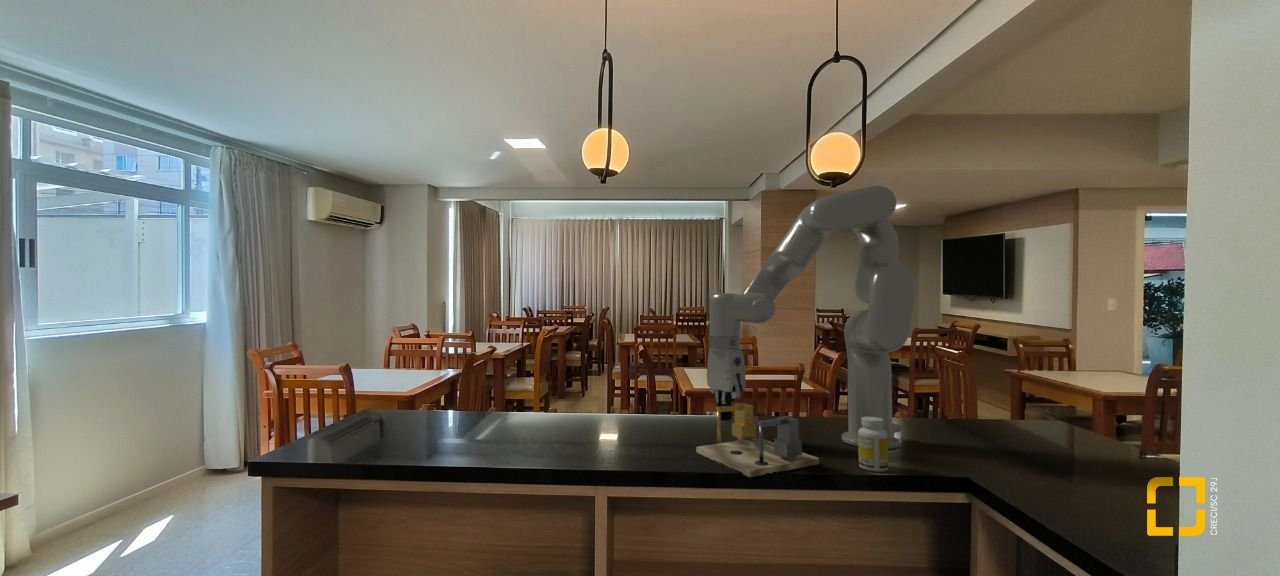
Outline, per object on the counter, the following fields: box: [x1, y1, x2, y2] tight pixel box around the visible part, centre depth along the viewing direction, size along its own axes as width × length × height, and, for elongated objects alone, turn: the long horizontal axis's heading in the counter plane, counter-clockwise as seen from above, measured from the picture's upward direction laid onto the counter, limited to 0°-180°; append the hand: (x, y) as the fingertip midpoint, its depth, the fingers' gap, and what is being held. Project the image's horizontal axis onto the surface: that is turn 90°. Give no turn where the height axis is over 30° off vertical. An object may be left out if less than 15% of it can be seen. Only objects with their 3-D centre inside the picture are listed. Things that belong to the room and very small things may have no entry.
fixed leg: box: [757, 415, 803, 463], centre depth 98 cm, size 9×4×8 cm, turn 117°
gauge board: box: [695, 437, 820, 478], centre depth 104 cm, size 18×18×2 cm
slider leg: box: [715, 402, 757, 444], centre depth 111 cm, size 9×4×8 cm, turn 117°
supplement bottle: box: [857, 417, 889, 473], centre depth 98 cm, size 5×5×10 cm
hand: (724, 419), depth 118 cm, fingers closed
